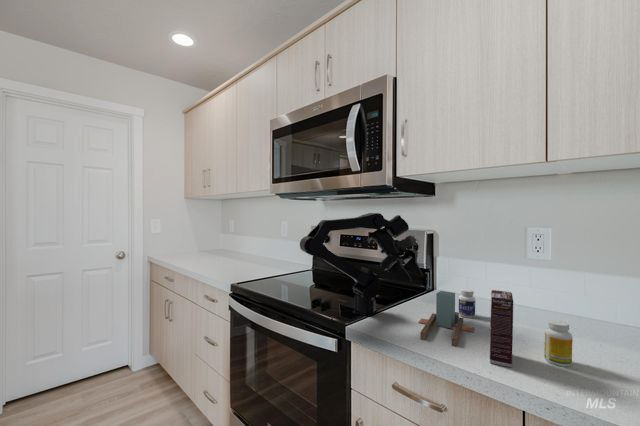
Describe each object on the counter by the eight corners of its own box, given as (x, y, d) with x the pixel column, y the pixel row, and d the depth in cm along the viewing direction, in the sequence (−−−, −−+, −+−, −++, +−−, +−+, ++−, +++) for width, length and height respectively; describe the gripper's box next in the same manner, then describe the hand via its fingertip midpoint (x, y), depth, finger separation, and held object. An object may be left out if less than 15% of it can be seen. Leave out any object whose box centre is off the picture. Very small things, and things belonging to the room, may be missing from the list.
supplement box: (513, 368, 73) (513, 300, 72) (489, 363, 75) (490, 297, 75) (511, 353, 80) (512, 291, 80) (489, 349, 82) (490, 289, 82)
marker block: (436, 324, 99) (436, 293, 99) (440, 321, 103) (441, 290, 103) (450, 328, 97) (450, 295, 97) (454, 324, 100) (455, 292, 100)
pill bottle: (457, 316, 108) (458, 290, 108) (459, 312, 113) (459, 287, 113) (475, 319, 106) (475, 292, 106) (475, 314, 110) (475, 289, 110)
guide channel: (408, 336, 91) (408, 326, 91) (423, 315, 109) (423, 307, 109) (470, 349, 83) (470, 337, 83) (474, 324, 101) (475, 315, 101)
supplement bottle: (538, 357, 79) (539, 318, 78) (559, 356, 79) (559, 318, 79) (556, 367, 73) (556, 326, 73) (578, 367, 73) (578, 326, 73)
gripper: (389, 229, 102) (422, 267, 95) (412, 227, 116) (443, 260, 109) (368, 251, 107) (397, 289, 100) (393, 246, 121) (421, 279, 114)
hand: (416, 278), depth 106 cm, fingers open, 9 cm apart
